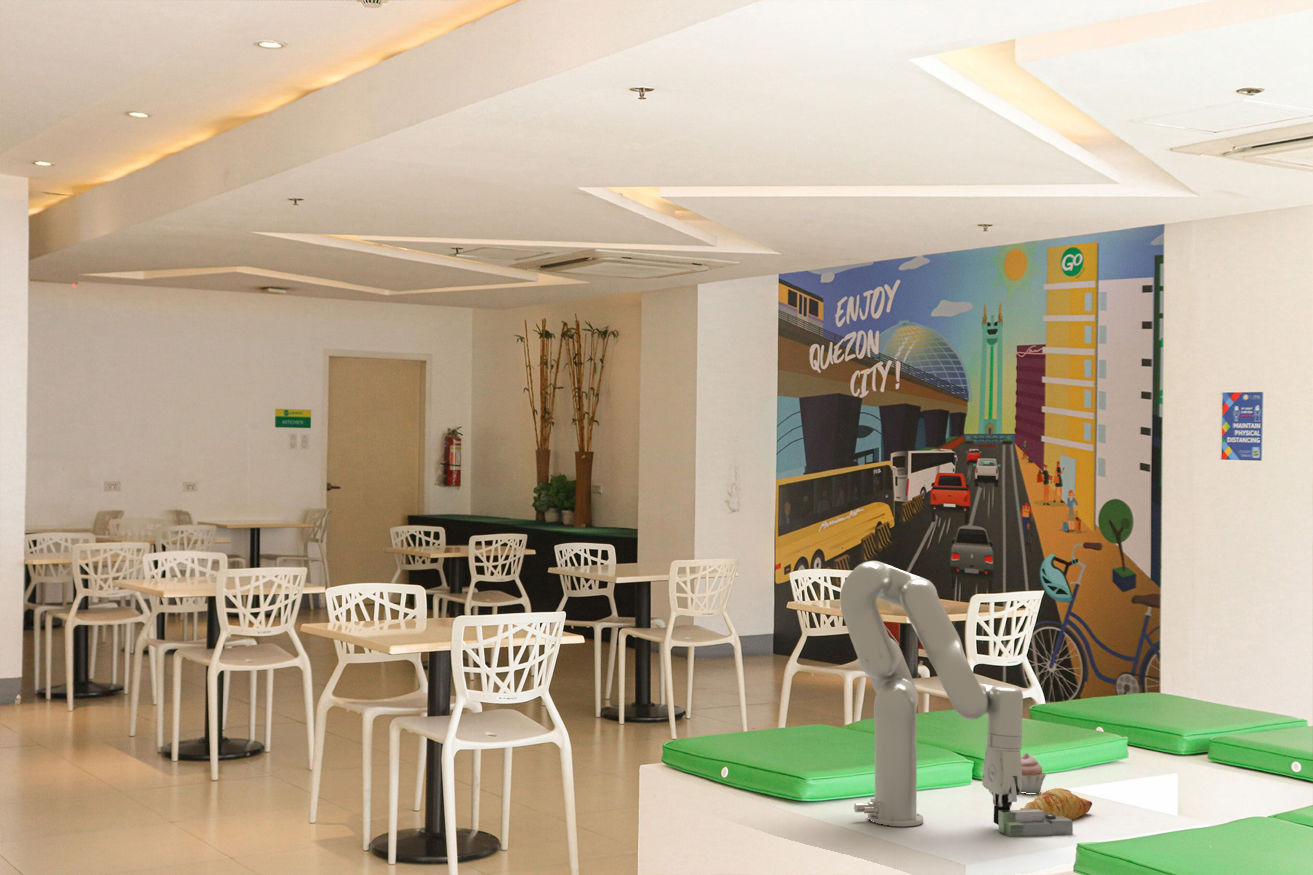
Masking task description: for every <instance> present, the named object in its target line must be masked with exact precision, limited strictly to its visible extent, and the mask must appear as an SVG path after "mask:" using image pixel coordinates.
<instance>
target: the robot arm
mask: <svg viewBox="0 0 1313 875" xmlns="http://www.w3.org/2000/svg"><path fill="white" fill-rule="evenodd" d="M839 594H840V595H839V604H840V612H841V614H842V618H843V620H844V623H845V626H846V629H847V631H848V635H849V638H850V641H851V643H852V645H853V648H854V651H855V654H856V657H857V660H858V663H859V666H860V668H861V669H862V671H863V672H864V673H865V674H866V675H867V676H868V677H869V680H870V682H871V685H872V687H873V690H874V692H875V698H874V703H873V719H874V720H873V723H874V798H870V801H868V802H867V803H855V804H853V805H854V806H853V810H854V812H855V813H863V814H867V819H868V818H869V819H870V820H872V821H874V822H877V823H878V824H877V823H876V824H877V825H881V824H883V825H882V826H887V825H889V827H902V828H903V827H904V828H905V827H914V826H919V825H921V824H923V823H924V817H923V815H921V814H919V813H917V788H918V787H917V782H918V781H917V779H918V778H917V776H918V775H917V772H918V771H917V763H918V762H917V760H918V757H917V745H918V744H917V712H918V711H917V710H918V706H919V700H920V699H919V697H920V696H919V692H918V689H917V687H916V684H915V682H914V679H913V677H912V674H911V672H910V669H909V667H908V664H907V662H906V659H905V656H904V655H903V651H902V649H901V648H900V645H899V644H898V643H897V642H896V641H895V640H894V639H893V638H891V637H890V636H889V633H888V630H887V628H886V625H885V623H884V621H883V620H884V619H883V618H882V615H881V613H880V611H879V608H878V602H877V601H878V599H880V600H881V601H884V602H887V603H889V604H892V605H895V606H897V607H901V608H902V609H903V611H904V613H905V615H906V617H907V619H908V621H909V623H910V625H911V626H912V628H913V630H914V631H915V634H916V636H917V637H918V640H919V642H920V643H921V645H922V646H921V647H922V648H923V650H924V652H925V653H926V656H927V658H928V660H929V663H930V664H931V665H932V667H933V669H934V671H935V674H936V675H937V677H938V679H939V681H940V683H941V687H942V688H943V690H944V692H945V693H946V695H947V698H948V699H949V701H950V703H951V705H952V707H953V709H954V711H955V712H956V713H957V714H958V716H960V717H961V718H963V719H965V720H969V721H970V720H971V721H972V720H978V719H980V718H981V717H983V716H984V715H987V732H986V733H987V735H986V736H987V738H986V740H987V741H986V747H985V752H984V758H983V759H984V760H983V768H982V784H981V785H982V786H983V787H984V788H985V789H986V790H988V792H989V794H991V795H992V803H993V823H994V825H995V824H996V825H997V826H999V818H998V810H1011V808H1012V805H1013V803H1017V802H1018V797H1017V796H1020V794H1022V793H1021V786H1022V766H1021V758H1022V755H1021V754H1022V753H1021V751H1022V739H1023V713H1024V712H1023V711H1024V710H1023V708H1024V707H1023V706H1024V705H1023V704H1024V695H1023V694H1024V693H1023V691H1022V690H1021V688H1019V687H1018V688H1017V687H1016V686H1008V685H991V684H990V685H989V684H984V683H980V682H979V681H978V680H977V676H976V675H975V674H974V672H973V669H972V668H971V665H970V663H969V661H968V659H967V657H966V654H965V651H964V648H963V644H962V641H961V637H960V635H959V633H958V631H957V630H956V627H955V626H954V624H953V622H952V620H951V619H950V616H949V615H948V612H947V611H946V608H945V607H944V605H943V603H942V601H941V599H940V598H939V595H938V591H937V588H936V586H935V585H934V584H933V582H932V581H931V580H929V579H926V578H924V577H922V576H918V575H915V574H912V573H910V572H907V571H905V570H902V569H899V568H897V567H894V566H892V565H889V564H887V563H884V562H881V561H878V560H869V561H865V562H862V563H860V564H858V565H857V566H856V567H855V568H854V569H853V570H852V571H851V572H850V573H849V574H848V575H847V577H846V579H845V581H844V582H843V584H842V586H841V590H840V593H839ZM869 819H868V820H869ZM874 822H873V823H874Z"/></svg>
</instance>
